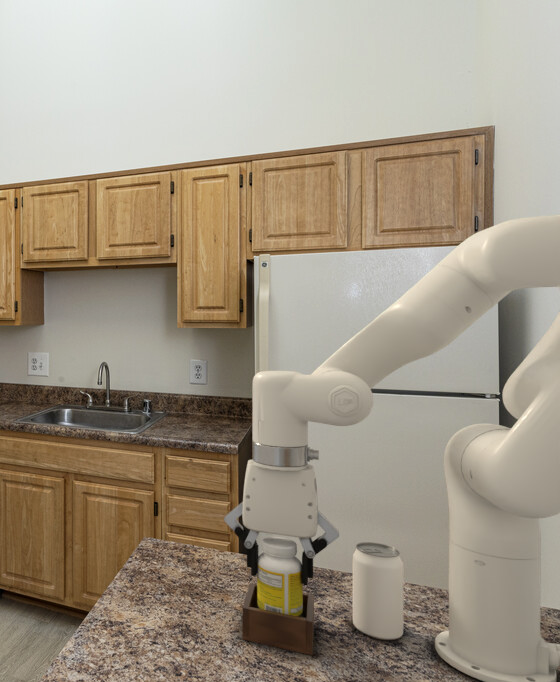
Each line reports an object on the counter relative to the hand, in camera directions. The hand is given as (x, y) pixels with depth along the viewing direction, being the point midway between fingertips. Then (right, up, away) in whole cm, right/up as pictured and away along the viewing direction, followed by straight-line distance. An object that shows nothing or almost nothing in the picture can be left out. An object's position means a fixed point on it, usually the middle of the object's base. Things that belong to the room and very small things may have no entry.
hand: (279, 576), depth 82 cm
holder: (0, -8, 0) cm, 8 cm away
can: (+15, -8, +1) cm, 17 cm away
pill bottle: (0, -6, 0) cm, 6 cm away
